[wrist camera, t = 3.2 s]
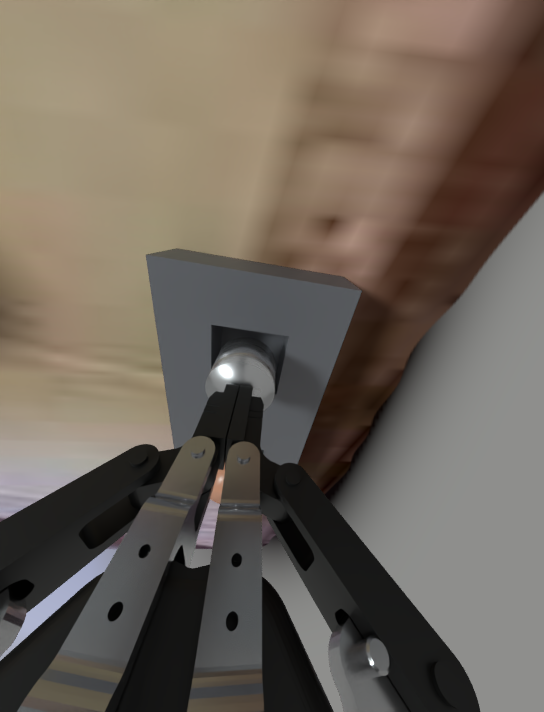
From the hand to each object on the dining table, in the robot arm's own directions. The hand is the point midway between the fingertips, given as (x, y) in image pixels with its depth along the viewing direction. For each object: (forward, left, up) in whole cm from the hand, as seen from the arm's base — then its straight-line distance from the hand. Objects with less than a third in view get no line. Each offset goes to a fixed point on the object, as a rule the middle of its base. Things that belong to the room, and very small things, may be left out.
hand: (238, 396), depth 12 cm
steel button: (0, 0, -3) cm, 3 cm away
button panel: (+6, 0, -7) cm, 9 cm away
